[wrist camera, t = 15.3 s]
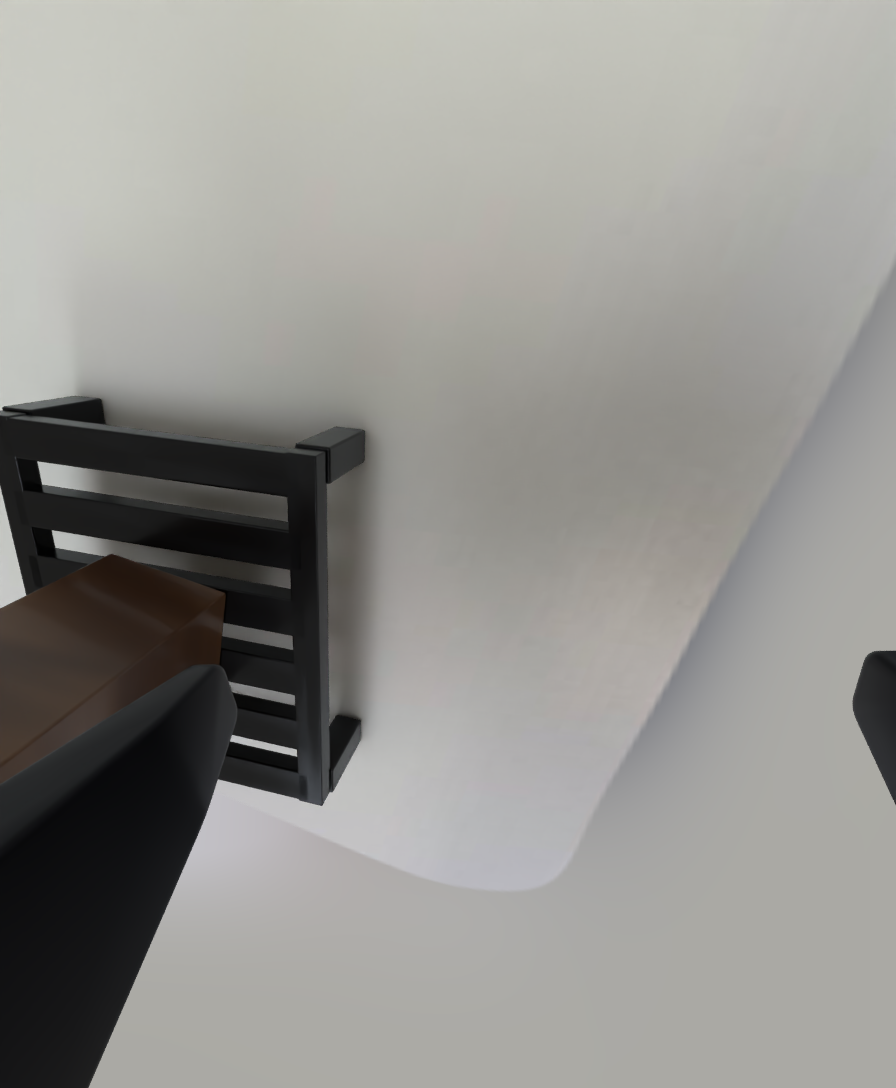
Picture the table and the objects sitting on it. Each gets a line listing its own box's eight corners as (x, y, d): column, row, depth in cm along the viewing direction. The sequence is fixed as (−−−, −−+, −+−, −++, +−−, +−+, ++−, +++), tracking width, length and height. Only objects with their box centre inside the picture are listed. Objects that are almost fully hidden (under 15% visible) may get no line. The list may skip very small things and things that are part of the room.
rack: (361, 740, 26) (324, 809, 22) (127, 689, 28) (59, 744, 24) (365, 429, 21) (318, 453, 17) (75, 395, 23) (-22, 410, 19)
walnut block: (226, 592, 20) (-84, 829, 10) (217, 694, 21) (-54, 971, 12) (111, 552, 20) (-281, 745, 11) (111, 655, 22) (-225, 894, 13)
